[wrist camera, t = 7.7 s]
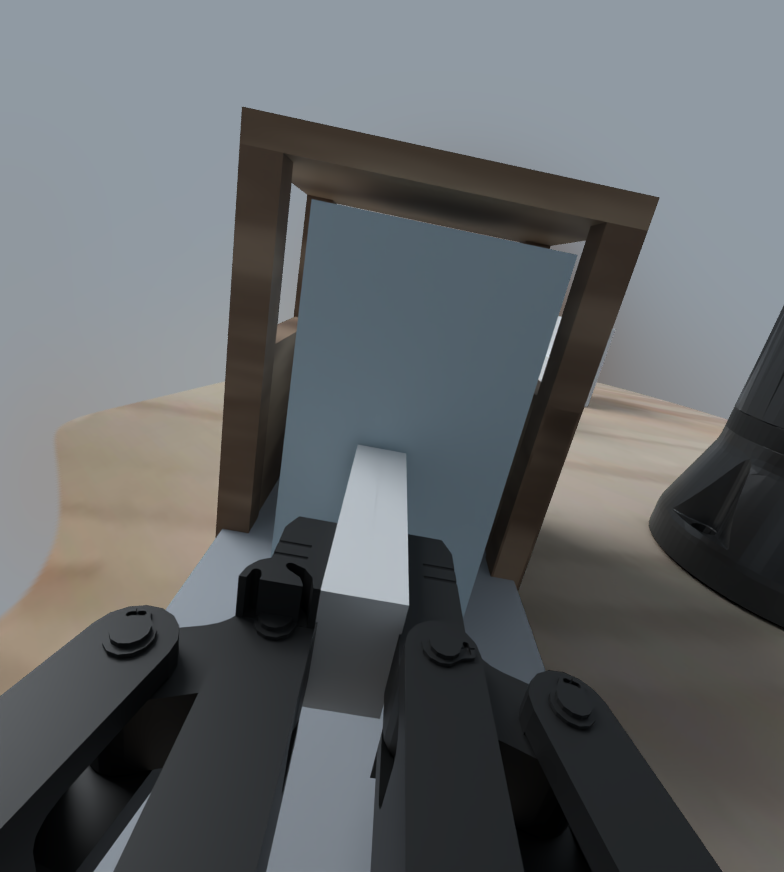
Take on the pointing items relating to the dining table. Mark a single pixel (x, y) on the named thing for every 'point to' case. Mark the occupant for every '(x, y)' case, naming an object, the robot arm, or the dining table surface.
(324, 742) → the runway
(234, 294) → the tunnel
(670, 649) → the dining table surface
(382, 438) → the block
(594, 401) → the dining table surface
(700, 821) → the dining table surface
